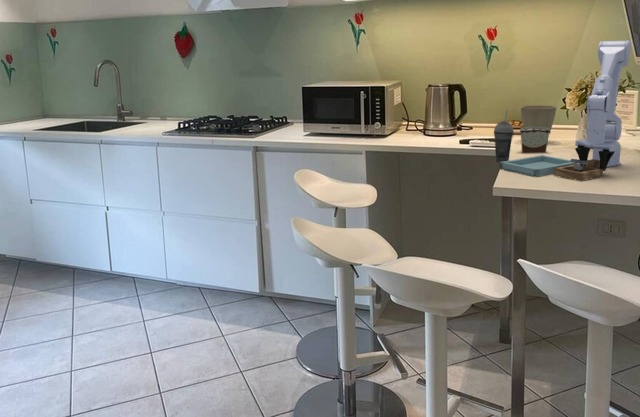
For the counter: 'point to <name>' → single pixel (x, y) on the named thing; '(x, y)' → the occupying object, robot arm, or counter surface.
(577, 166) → the stake
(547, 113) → the plant pot
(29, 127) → the counter surface
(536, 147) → the food container
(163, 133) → the counter surface
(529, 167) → the tray
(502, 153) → the beverage cup
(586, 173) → the frame
